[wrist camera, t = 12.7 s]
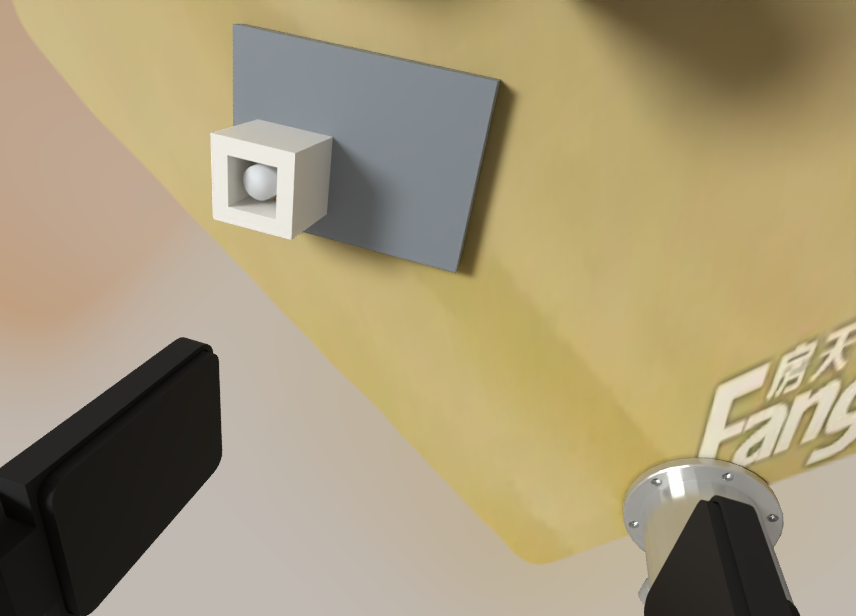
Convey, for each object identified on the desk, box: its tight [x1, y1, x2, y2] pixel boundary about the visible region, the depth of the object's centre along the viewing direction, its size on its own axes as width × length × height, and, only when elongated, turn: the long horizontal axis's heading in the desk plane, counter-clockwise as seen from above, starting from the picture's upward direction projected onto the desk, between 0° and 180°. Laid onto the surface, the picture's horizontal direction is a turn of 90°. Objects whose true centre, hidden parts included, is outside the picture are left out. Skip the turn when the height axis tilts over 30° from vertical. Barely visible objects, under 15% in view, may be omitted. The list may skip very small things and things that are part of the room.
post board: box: [233, 24, 500, 273], centre depth 39 cm, size 14×19×6 cm
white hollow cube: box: [210, 119, 333, 240], centre depth 39 cm, size 6×6×6 cm
